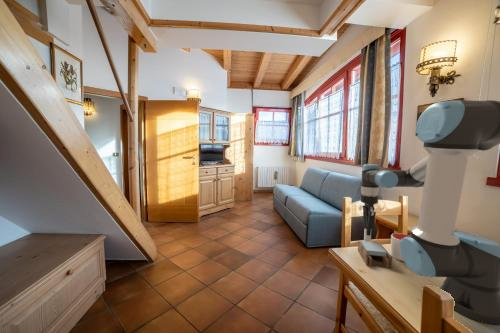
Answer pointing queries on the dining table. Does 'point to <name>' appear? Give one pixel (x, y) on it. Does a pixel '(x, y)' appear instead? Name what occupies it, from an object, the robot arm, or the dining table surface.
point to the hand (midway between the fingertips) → (367, 240)
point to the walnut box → (375, 258)
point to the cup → (397, 245)
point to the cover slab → (373, 248)
